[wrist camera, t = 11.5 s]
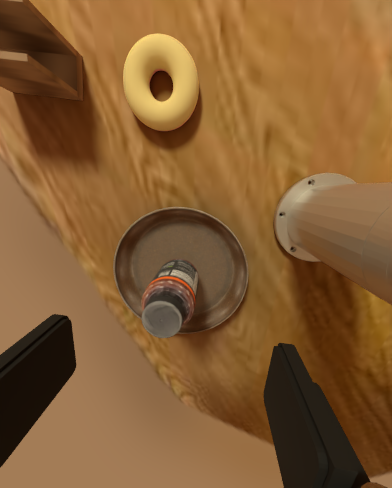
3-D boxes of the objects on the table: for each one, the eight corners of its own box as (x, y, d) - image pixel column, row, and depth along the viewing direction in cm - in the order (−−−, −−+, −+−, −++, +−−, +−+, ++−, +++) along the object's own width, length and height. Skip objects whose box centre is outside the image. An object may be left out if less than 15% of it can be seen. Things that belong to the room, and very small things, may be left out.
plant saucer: (96, 254, 33) (84, 261, 30) (194, 177, 29) (192, 175, 26) (172, 340, 37) (168, 354, 34) (268, 282, 33) (275, 292, 30)
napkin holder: (82, 56, 26) (21, -8, 17) (83, 100, 27) (27, 61, 19) (7, 48, 26) (-87, -19, 18) (12, 92, 27) (-74, 49, 19)
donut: (147, 140, 30) (207, 123, 28) (133, 138, 26) (202, 119, 24) (123, 56, 26) (191, 28, 24) (103, 39, 22) (183, 4, 20)
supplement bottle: (180, 301, 31) (162, 359, 20) (152, 275, 30) (117, 319, 19) (207, 276, 29) (205, 323, 18) (178, 248, 29) (158, 279, 18)
